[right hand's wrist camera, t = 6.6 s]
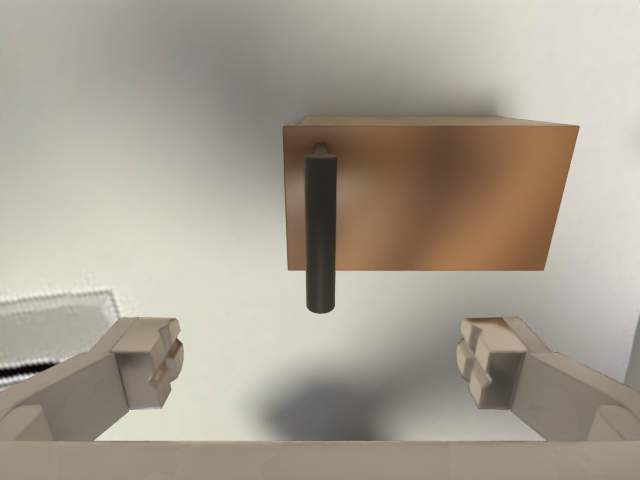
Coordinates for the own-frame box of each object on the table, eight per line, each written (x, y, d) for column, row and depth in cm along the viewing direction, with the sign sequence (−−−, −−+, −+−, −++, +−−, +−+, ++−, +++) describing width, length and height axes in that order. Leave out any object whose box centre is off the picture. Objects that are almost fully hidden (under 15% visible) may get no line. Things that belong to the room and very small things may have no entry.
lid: (288, 265, 26) (276, 328, 19) (283, 124, 23) (266, 137, 15) (537, 265, 26) (618, 328, 19) (570, 124, 23) (686, 137, 15)
